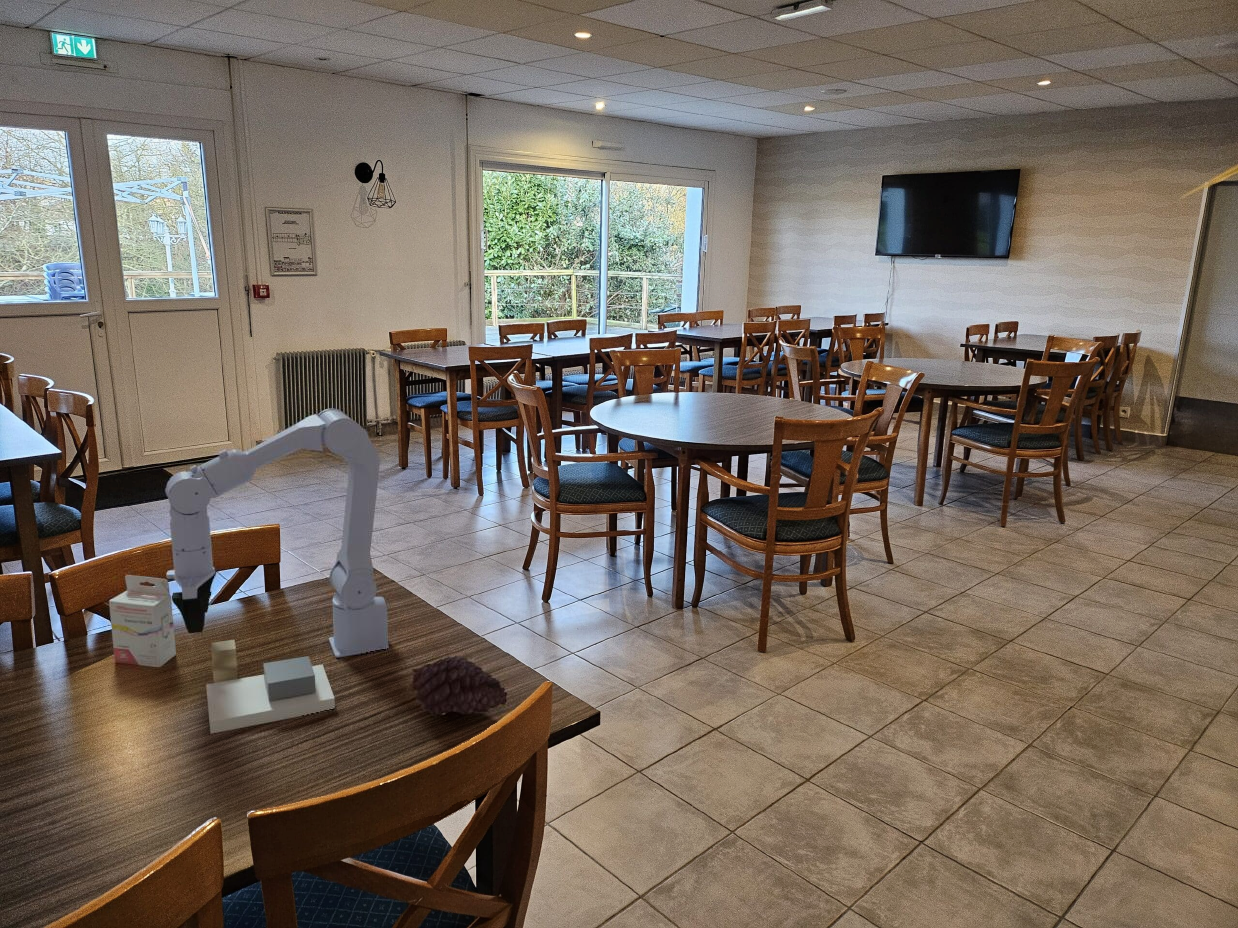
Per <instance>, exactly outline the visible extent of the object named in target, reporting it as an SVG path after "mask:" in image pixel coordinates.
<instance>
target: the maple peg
mask: <svg viewBox="0 0 1238 928" xmlns="http://www.w3.org/2000/svg"><path fill="white" fill-rule="evenodd" d="M235 641H236V640H235V639H230V640H229V639H228V640H223V641H222V640H221V641H216V642H215V641H214V642H211V643H210V649H211V651H210V652H211V665H212V676H213V683H218V682H223V681H229V680H235V679H239V677H238V661H237V647H236V642H235Z"/></svg>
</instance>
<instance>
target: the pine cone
mask: <svg viewBox="0 0 1238 928" xmlns="http://www.w3.org/2000/svg"><path fill="white" fill-rule="evenodd" d="M412 672H413V677H412V682H410V683H409V684H408V685H407V687H406V690H408V691H415V692H416V694H415V699H417V701H418V702H421V709H422V710H423V711H429V713H431V715H432V716H434V717H435V716H438V715H440V714H443V713H447V714H448V713H454V712H455V713H459V714H461V715H466V714H467V715H472V714H477V715H478V714H480V713H487V712H488V711H490V710H491V709H495V708H498V707H499V706H501V705H502V706H505V705H506V703H507V702H508V700H507V697H508V692H505V690H506V689H505V687H501V682H500V681H499V679H496V678H495V677H493V676H492V674H490V673H488V672H485V671H484V670H483V668H482V667H481V666H479V665H476V663H475V662H473V661H469V660H468V659H467V658H466V657H459V656H457V655H455V656H447V657H445V658H440V659H439V660H436V661H434V662H433V663H432V664H431V663H426V664H424V665H422V666H420V667H418V668H412Z"/></svg>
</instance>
